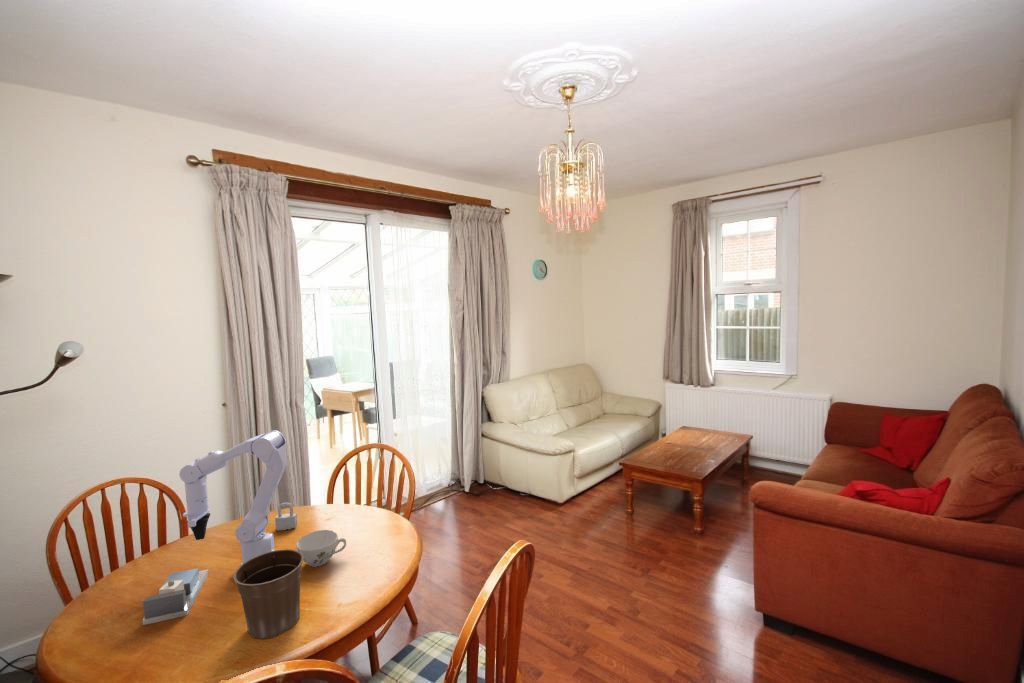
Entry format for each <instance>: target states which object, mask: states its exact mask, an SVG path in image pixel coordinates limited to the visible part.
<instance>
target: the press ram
mask: <svg viewBox="0 0 1024 683" xmlns="http://www.w3.org/2000/svg"><path fill="white" fill-rule="evenodd" d="M199 571H200V570H199V567H197V568H192V569H187V570H181V571H177V572H172V573H171V572H170V574H169V575H168V577H167V578H166V580H165V581H164V583H163V584H162V585H161V587H163V586H164V585H165V584H166V583H167V582H168V581H170V580H174V581H177V580H183V582H184V589H185V590H186V593H191V591H192V589H193V587H194V585H195V583H196V582H197V580H198V578H199Z"/></svg>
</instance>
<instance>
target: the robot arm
mask: <svg viewBox="0 0 1024 683" xmlns="http://www.w3.org/2000/svg"><path fill="white" fill-rule="evenodd" d="M244 454H248V455H251V456H252V455H255V457H257V458H258V459H259V460H260V461H261V462H263V463H264V464H265V465H266V466H267V468H266V471H265V472H264V475H263V477H262V480H261V482H260V485H259V486H258V489H257V492H256V494H255V496H254V499H253V501H252V504H251V507H250V509H249V510H248V512H247V514H246V515H245V517H244V518H243V520H242V522H241V523H240V524H239V525H238V526H237V527H236V529H235V533H234V535H235V538H236V539H237V541H239V542H240V549H241V550H240V551H241V564H240V566H241V565H242V564H243V563H245V562H246V561H248V560H250V559H252V558H254V557H256V556H258V555H261V554H264V553H267V552H271V551H275V550H276V549H275V539H274V537H275V536H274V533H268V532H267V533H266V527H267V526H268V525H269V515H270V510H269V508H270V506H271V503H272V501H273V499H274V496H275V494H276V492H277V488H278V486H279V484H280V481H281V479H282V477H283V475H284V472H285V470H286V468H287V465H288V455H287V438H286V437H285V436H284V435H283V433H282V432H280V431H278V430H270V431H268V432H267V433H262V434H259V435H256V436H253V437H250V438H248V439H247V440H244V441H243V442H241V443H239V444H237V445H235V446H233V447H231V448H229V449H228V450H225V451H222V450H216V451H215V450H211V451H210V452H208V453H207V455H206V456H203V457H201V458H200V457H198V458H195V459H194V461H192V462H190V463H188V464H186V465H184V466H183V467H182V468H181V469H180V471H179V477H180V480H181V481H182V482H184V490H185V500H186V501H185V502H186V512H183V514H182V517H183V518H185V517H186V518H187V521H186V524H187V528H190V529H191V531H192V533H193V536H194V538H195V540H196V541H199V540H200V541H201V540H204V539H205V537H206V533H207V526H208V522H209V518H210V517H211V513H210V511H211V510H210V507H209V498H208V486H207V484H208V483H207V478H208V477H207V476H208V475H210V474H212V473H214V472H217V471H219V470H221V469H223V468H224V467H226V466H227V465H228V462H229V461H231V460H233V459H235V458H237V457H240V456H241V455H244Z"/></svg>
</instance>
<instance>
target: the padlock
mask: <svg viewBox="0 0 1024 683" xmlns="http://www.w3.org/2000/svg"><path fill="white" fill-rule="evenodd" d="M285 506H287V507H288V508H289V512H288V513H287V512H286V513H282V508H283V507H285ZM274 524H275V525H274V526H275V531H287V530H286V529H288V530H292V529H291V528H295V529H296V528H297V526H298V525H297V524H298V513H297V512H294V505H292V503H290V502H282V503H280V504H279V505H278V507H277V515H276V516H275V517H274Z"/></svg>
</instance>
